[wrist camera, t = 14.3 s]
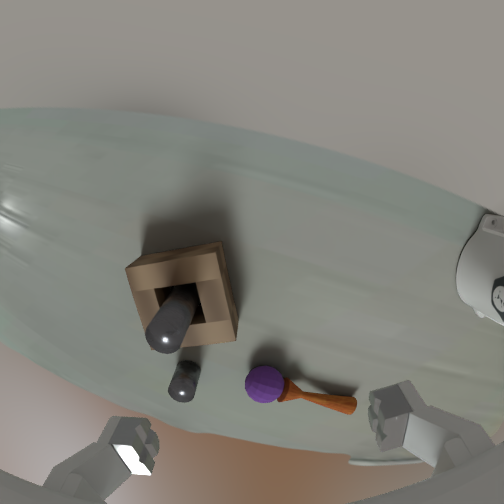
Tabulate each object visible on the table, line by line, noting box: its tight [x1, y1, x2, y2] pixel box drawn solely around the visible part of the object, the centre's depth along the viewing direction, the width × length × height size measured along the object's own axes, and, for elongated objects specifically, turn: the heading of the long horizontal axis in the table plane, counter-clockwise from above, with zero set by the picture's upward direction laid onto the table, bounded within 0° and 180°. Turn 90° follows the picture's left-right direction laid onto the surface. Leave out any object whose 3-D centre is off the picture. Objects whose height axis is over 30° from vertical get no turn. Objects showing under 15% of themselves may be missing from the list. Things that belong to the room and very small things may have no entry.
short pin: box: [168, 360, 200, 402], centre depth 45 cm, size 4×4×6 cm
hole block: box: [125, 241, 239, 350], centre depth 41 cm, size 12×12×6 cm
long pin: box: [145, 282, 200, 354], centre depth 37 cm, size 4×4×14 cm
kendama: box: [245, 366, 357, 414], centre depth 46 cm, size 6×6×20 cm
